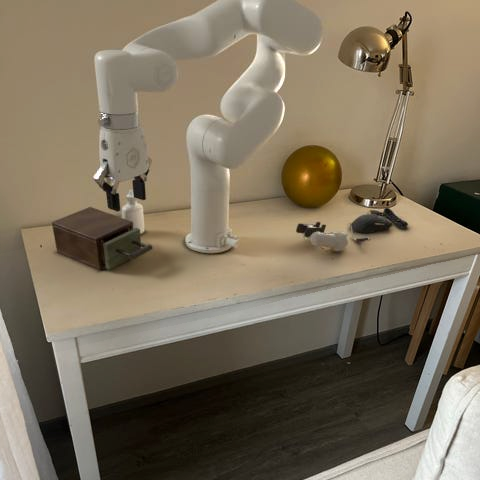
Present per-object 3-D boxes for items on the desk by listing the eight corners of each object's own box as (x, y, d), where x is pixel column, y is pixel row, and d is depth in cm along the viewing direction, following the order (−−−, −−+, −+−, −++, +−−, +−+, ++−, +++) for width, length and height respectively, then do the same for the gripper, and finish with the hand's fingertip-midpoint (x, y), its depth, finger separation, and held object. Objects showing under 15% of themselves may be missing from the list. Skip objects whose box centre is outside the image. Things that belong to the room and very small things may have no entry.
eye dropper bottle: (145, 236, 134) (142, 192, 127) (124, 237, 133) (120, 194, 126) (143, 229, 137) (141, 186, 130) (122, 230, 136) (118, 187, 129)
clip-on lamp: (347, 242, 143) (292, 235, 136) (354, 220, 141) (298, 212, 133) (370, 257, 134) (312, 251, 126) (378, 234, 131) (319, 227, 124)
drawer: (159, 259, 122) (158, 235, 118) (128, 277, 114) (125, 252, 111) (102, 237, 130) (99, 214, 127) (69, 252, 123) (65, 228, 119)
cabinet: (135, 251, 127) (133, 221, 122) (99, 270, 118) (95, 239, 113) (93, 235, 133) (90, 206, 128) (57, 252, 124) (51, 222, 120)
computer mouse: (336, 217, 150) (338, 204, 148) (387, 212, 155) (390, 200, 153) (356, 234, 141) (358, 221, 138) (410, 229, 145) (413, 216, 143)
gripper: (101, 132, 94) (111, 221, 104) (162, 115, 106) (166, 196, 116) (73, 125, 97) (85, 212, 107) (135, 109, 109) (141, 189, 119)
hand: (127, 203), depth 111 cm, fingers open, 7 cm apart
